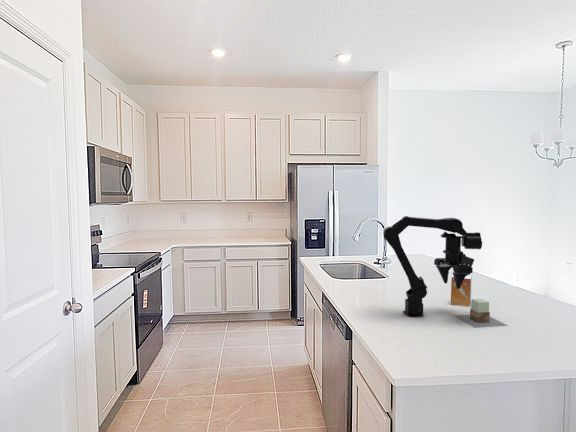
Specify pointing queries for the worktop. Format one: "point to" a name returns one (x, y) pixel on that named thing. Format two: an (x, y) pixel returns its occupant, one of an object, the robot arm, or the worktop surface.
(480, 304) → the sage block
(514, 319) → the worktop surface
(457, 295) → the small box
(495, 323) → the slate mat
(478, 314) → the walnut block
